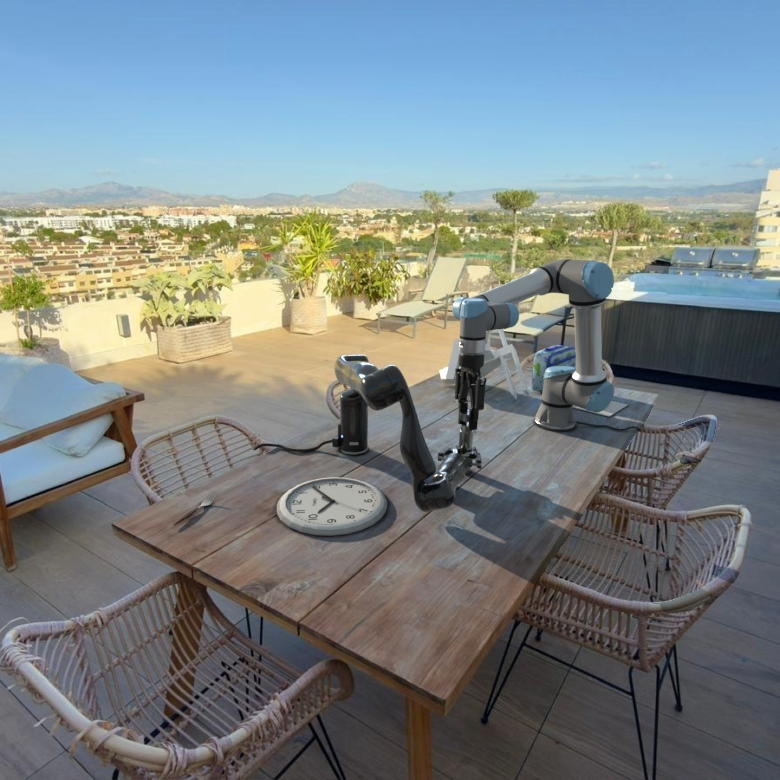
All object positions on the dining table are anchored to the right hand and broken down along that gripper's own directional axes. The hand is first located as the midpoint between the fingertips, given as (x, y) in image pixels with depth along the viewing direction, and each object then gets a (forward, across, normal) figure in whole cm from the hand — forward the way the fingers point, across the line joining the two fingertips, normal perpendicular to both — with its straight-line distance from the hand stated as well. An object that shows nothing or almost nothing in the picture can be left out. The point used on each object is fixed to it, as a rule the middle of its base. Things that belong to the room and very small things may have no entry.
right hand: (467, 426), depth 160 cm
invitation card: (+16, -31, +88) cm, 95 cm away
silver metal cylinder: (+15, 0, 0) cm, 15 cm away
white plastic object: (+16, -68, +50) cm, 86 cm away
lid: (-4, 0, 0) cm, 4 cm away
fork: (+14, -6, -80) cm, 81 cm away
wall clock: (+14, +4, -45) cm, 48 cm away
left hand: (+8, -2, +2) cm, 9 cm away
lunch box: (+16, -58, +85) cm, 104 cm away
